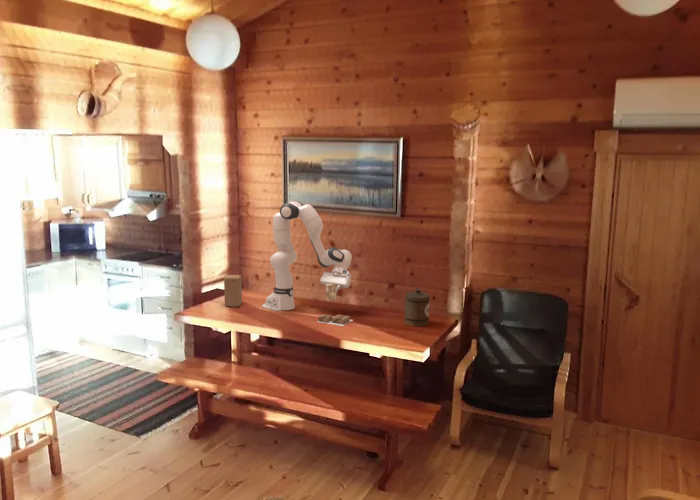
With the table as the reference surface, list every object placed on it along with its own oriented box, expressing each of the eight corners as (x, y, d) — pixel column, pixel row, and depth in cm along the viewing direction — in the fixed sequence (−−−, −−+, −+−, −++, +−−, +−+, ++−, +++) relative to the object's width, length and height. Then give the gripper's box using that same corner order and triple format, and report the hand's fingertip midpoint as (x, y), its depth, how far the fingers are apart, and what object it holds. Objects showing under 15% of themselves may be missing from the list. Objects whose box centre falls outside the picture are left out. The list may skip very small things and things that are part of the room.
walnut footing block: (318, 321, 364) (318, 316, 363) (323, 318, 369) (323, 313, 369) (327, 322, 361) (327, 317, 361) (331, 320, 366) (331, 315, 366)
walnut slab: (331, 322, 361) (331, 317, 361) (338, 319, 368) (338, 314, 368) (343, 324, 358) (343, 319, 357) (349, 320, 365) (349, 316, 364)
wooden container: (431, 326, 360) (432, 290, 356) (408, 327, 357) (408, 291, 354) (424, 319, 374) (425, 285, 370) (401, 320, 372) (402, 285, 368)
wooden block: (239, 307, 398) (238, 277, 395) (224, 306, 399) (223, 277, 395) (242, 303, 408) (241, 274, 405) (227, 302, 408) (226, 274, 405)
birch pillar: (326, 300, 375) (326, 284, 373) (329, 298, 379) (330, 283, 377) (332, 301, 373) (332, 285, 371) (336, 299, 377) (336, 284, 375)
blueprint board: (316, 323, 363) (316, 321, 363) (328, 317, 375) (328, 315, 375) (342, 328, 355) (342, 325, 355) (353, 321, 367) (353, 319, 367)
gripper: (322, 268, 383) (314, 286, 376) (351, 272, 374) (343, 290, 367) (326, 273, 388) (318, 291, 381) (354, 277, 378) (346, 295, 372)
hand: (330, 291), depth 374 cm, fingers closed on birch pillar, 4 cm apart
